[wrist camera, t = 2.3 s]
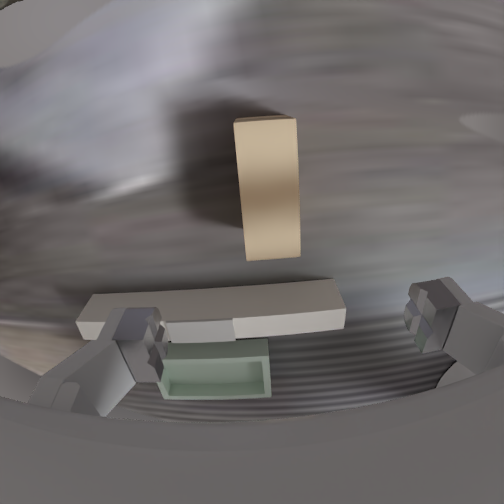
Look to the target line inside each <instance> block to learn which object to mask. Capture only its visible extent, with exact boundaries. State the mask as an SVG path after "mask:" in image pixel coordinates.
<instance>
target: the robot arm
mask: <svg viewBox="0 0 504 504" xmlns="http://www.w3.org/2000/svg"><path fill="white" fill-rule="evenodd" d="M408 295H409V296H410V298H411V299H410V301H409V302H408V303H407V304H406V306H405V311H404V319H405V324H406V327H407V329H408V330H409V332H411V333H413V334H414V335H416V336H415V340H414V341H415V342H416V344H417V346H418V348H419V349H420V351H421V353H422V354H424V353H429V352H433V351H438V350H442V349H443V351H444V352H446V353H447V354H448V355H450V356H451V357H453V358H454V359H455V360H457V362H456V363H455V364H453V365H452V366H451V367H450V368H449V369H448V371H447V372H446V373H445V374H444V375H443V377H442V378H441V379H440V381H439V383H438V384H437V387H436V388H435V389H432V390H428V391H425V392H421V393H418V394H414V395H410V396H407V397H403V398H399V399H395V400H390V401H386V402H382V403H377V404H372V405H368V406H363V407H358V408H352V409H347V410H341V411H335V412H329V413H322V414H315V415H308V416H300V417H291V418H281V419H270V420H257V421H239V422H161V421H144V420H131V419H120V418H110V417H105V416H106V415H107V414H108V413H109V412H110V411H111V410H112V409H113V408H114V407H115V406H116V404H117V403H118V402H119V401H120V400H121V399H122V398H123V397H124V396H125V395H126V394H127V393H128V391H129V390H130V389H131V388H132V387H133V386H134V385H135V384H136V383H135V382H161V378H162V374H163V369H164V365H163V362H162V360H163V359H164V358H165V357H167V352H168V338H167V333H166V330H165V328H164V327H163V326H162V325H160V322H161V318H162V317H161V314H160V311H159V309H158V308H157V307H136V308H114V309H112V310H111V312H110V314H109V316H108V318H107V320H106V322H105V324H104V326H103V328H102V330H101V332H100V334H99V336H98V338H97V340H92V341H90V342H89V343H88V344H86V345H85V346H83V347H82V348H80V349H79V350H78V351H76V352H75V353H73V354H72V355H71V356H69V357H68V358H66V359H65V360H64V361H62V362H61V363H59V364H58V365H57V366H55V367H54V368H52V369H51V370H50V371H48V372H47V373H45V374H44V375H43V376H41V377H40V380H39V381H38V383H37V385H36V387H35V389H34V391H33V393H32V395H31V397H30V399H29V401H28V403H25V402H21V401H16V400H13V399H9V398H5V397H1V396H0V504H504V314H503V313H500V312H498V311H496V310H494V309H492V308H489V307H487V306H485V305H483V304H481V303H478V302H473V301H472V300H471V299H470V298H469V297H468V296H467V294H466V293H465V292H464V291H463V290H462V289H461V288H460V287H459V286H458V285H457V283H456V282H455V281H454V280H453V279H452V278H450V277H445V278H440V279H436V280H431V281H425V282H418V283H412V284H411V286H410V288H409V293H408Z"/></svg>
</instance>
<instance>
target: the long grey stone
mask: <svg viewBox="0 0 504 504" xmlns="http://www.w3.org/2000/svg"><path fill="white" fill-rule="evenodd" d="M17 1H23V0H0V10H2V9H4V8H5V7H6V6H9V5H11V4H12V3H15V2H17Z"/></svg>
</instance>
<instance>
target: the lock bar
mask: <svg viewBox="0 0 504 504" xmlns="http://www.w3.org/2000/svg"><path fill="white" fill-rule="evenodd" d="M233 124H234V135H235V146H236V156H237V167H238V177H239V188H240V198H241V208H242V219H243V229H244V239H245V249H246V259H247V261H253V260H266V259H279V258H292V257H300V202H299V172H298V149H297V129H296V119H295V118H292V117H290V116H287V115H275V116H258V117H245V118H236V120H235V121H234V123H233Z"/></svg>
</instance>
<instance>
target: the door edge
mask: <svg viewBox="0 0 504 504" xmlns="http://www.w3.org/2000/svg"><path fill="white" fill-rule="evenodd" d="M136 307H157V308H158V309H159V311H160V314H161V317H162V318H161V322H160V325H162V326H163V327H164V328H165V330H166V333H167V338H168V341H171V342H172V343H204V342H228V341H236V338H251V337H266V336H278V335H290V334H300V333H310V332H320V331H329V330H337V329H344V323H345V315H346V307H345V304H344V302H343V299H342V297H341V295H340V292H339V290H338V288H337V285H336V283H335V281H334V279H324V280H313V281H301V282H289V283H277V284H264V285H251V286H237V287H223V288H207V289H191V290H173V291H153V292H132V293H106V294H93V295H92V296H91V298H90V299H89V301H88V302H87V304H86V306H85V307H84V309H83V310H82V312H81V313H80V315H79V317H78V318H77V320H76V321H75V322H76V324H77V326H78V328H79V331H80V333H81V335H82V337H83V339H84V340H97V338H98V336H99V334H100V332H101V330H102V328H103V326H104V324H105V322H106V320H107V318H108V316H109V314H110V312H111V310H112V309H114V308H136Z"/></svg>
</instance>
